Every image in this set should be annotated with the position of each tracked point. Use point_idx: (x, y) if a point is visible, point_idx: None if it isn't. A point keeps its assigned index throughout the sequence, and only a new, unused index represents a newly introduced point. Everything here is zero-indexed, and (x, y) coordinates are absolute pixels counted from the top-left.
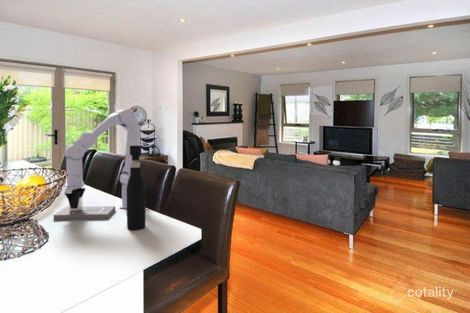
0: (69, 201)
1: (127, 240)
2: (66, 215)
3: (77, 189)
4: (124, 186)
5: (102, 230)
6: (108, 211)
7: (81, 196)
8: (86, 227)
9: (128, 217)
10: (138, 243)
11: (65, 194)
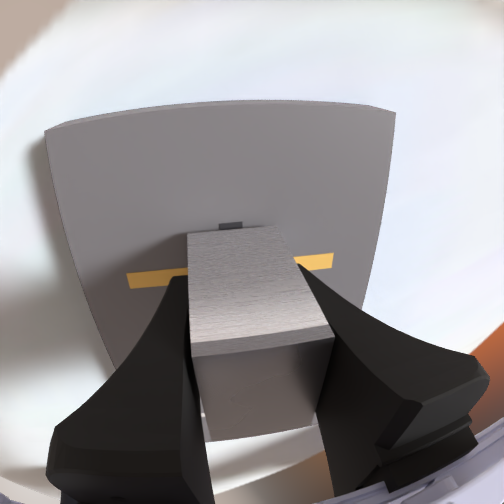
0: (145, 339)
1: (3, 458)
2: (74, 252)
3: (361, 480)
4: (409, 496)
5: (21, 424)
6: (207, 438)
7: (286, 429)
8: (15, 381)
9: (62, 500)
10: (4, 467)
11: (61, 432)
